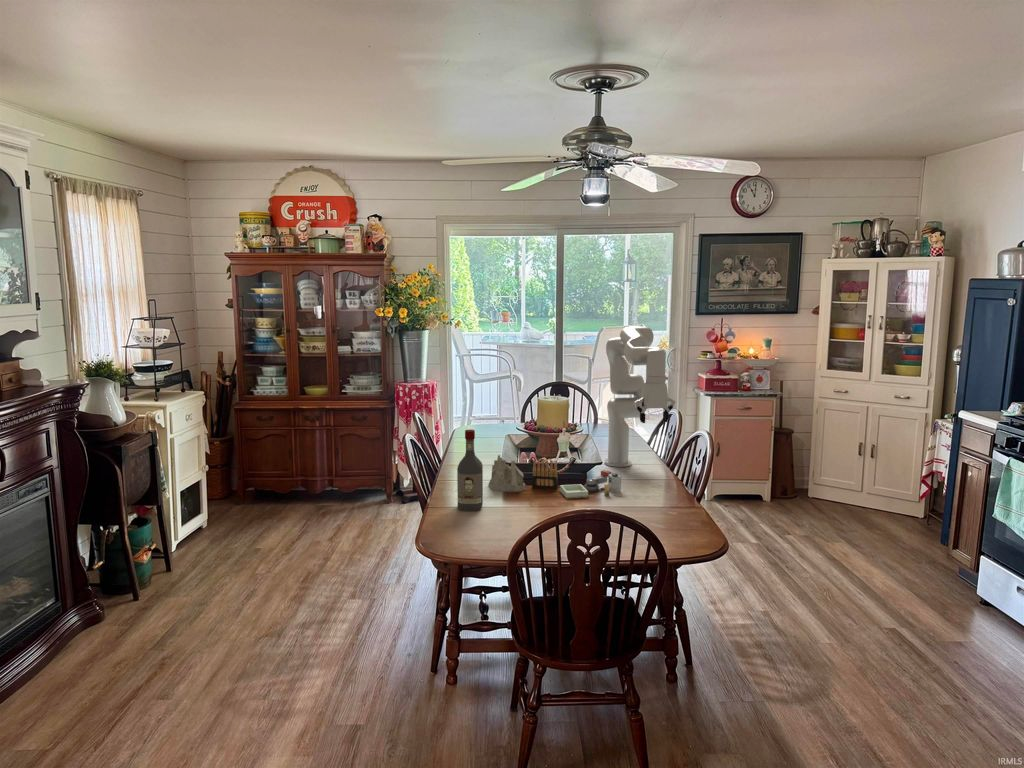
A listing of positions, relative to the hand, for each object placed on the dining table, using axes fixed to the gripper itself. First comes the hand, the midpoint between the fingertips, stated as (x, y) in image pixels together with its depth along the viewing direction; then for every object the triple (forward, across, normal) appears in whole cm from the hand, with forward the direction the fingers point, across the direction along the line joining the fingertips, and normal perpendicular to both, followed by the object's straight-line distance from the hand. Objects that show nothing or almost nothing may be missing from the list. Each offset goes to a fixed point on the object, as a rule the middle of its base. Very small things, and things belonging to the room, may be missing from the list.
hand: (654, 422), depth 274 cm
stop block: (+30, +14, -6) cm, 33 cm away
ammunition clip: (+30, +41, -16) cm, 53 cm away
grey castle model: (+30, +56, -21) cm, 67 cm away
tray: (+30, +32, -5) cm, 44 cm away
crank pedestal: (+30, +20, -5) cm, 36 cm away
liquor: (+30, +75, +3) cm, 81 cm away
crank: (+27, +20, -10) cm, 35 cm away
